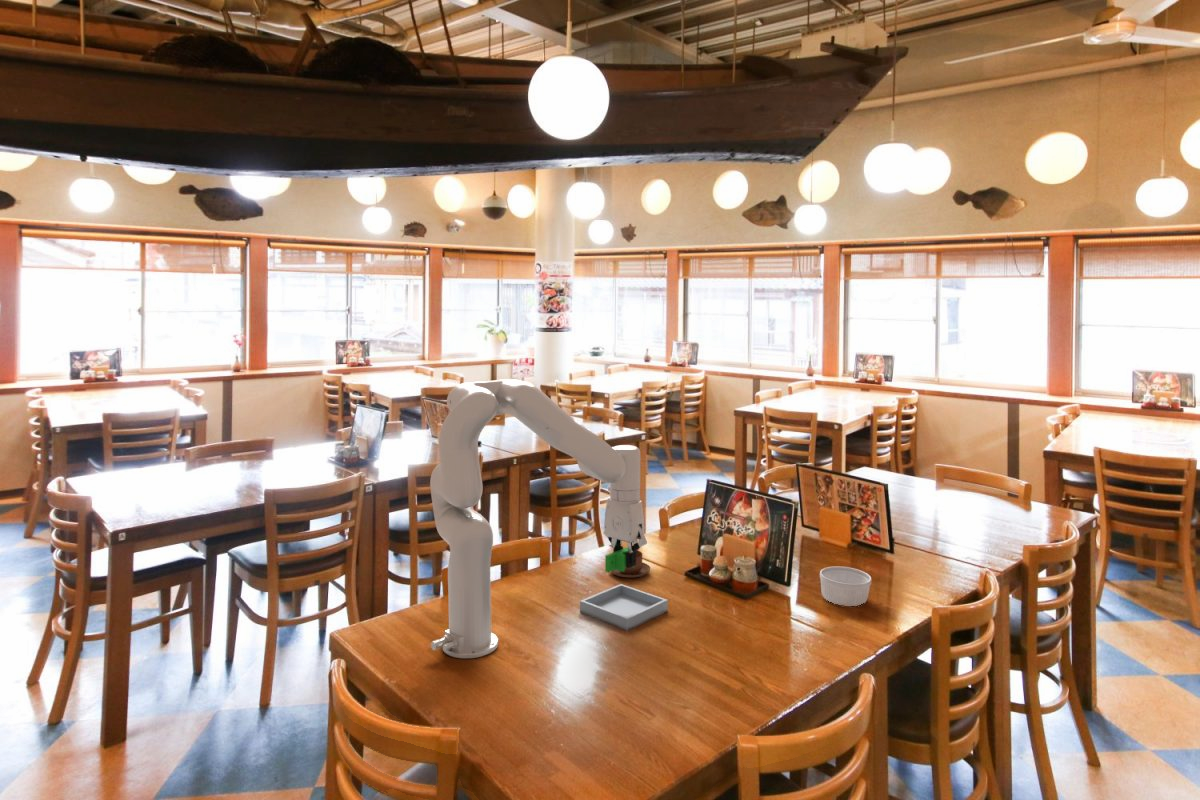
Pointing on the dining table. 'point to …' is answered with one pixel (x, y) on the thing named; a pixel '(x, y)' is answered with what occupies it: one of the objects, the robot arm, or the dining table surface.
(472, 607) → the robot arm
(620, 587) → the tray
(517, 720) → the dining table surface
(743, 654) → the dining table surface
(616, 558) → the green branched block
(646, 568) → the cup and saucer
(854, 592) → the ramekin
